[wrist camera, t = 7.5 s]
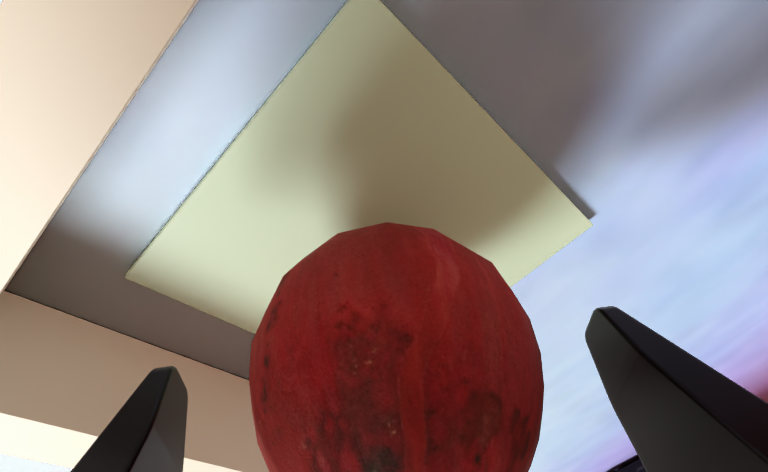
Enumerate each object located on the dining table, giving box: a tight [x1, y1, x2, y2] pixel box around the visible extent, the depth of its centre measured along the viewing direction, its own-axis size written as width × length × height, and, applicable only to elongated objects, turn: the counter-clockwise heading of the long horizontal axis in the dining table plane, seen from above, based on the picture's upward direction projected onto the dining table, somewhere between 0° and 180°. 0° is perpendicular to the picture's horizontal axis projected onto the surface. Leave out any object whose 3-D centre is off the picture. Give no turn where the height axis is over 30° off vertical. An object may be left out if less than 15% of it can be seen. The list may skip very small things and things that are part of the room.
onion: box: [249, 222, 544, 472], centre depth 9 cm, size 6×6×8 cm
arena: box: [0, 0, 593, 472], centre depth 11 cm, size 15×17×3 cm
